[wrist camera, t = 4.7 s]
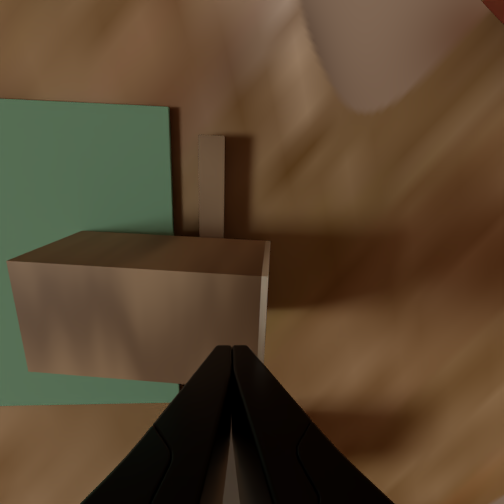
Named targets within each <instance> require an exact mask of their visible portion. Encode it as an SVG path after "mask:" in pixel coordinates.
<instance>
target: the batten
mask: <svg viewBox="0 0 504 504" xmlns="http://www.w3.org/2000/svg"><path fill="white" fill-rule="evenodd" d="M198 162H199V237H206V238H224V185H225V136H216V135H198Z"/></svg>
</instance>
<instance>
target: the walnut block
mask: <svg viewBox="0 0 504 504" xmlns="http://www.w3.org/2000/svg"><path fill="white" fill-rule="evenodd" d="M270 243H271V241H261V240H243V239H225V238H206V237H188V236H170V235H151V234H133V233H114V232H96V231H80V232H77V233H75V234H72V235H70V236H67V237H65V238H62V239H60V240H57V241H55V242H52V243H50V244H47V245H45V246H42V247H40V248H37V249H35V250H32V251H30V252H27V253H25V254H22V255H20V256H17V257H15V258H12V259H10V260H7V261H6V263H7V268H8V273H9V277H10V282H11V287H12V292H13V297H14V302H15V307H16V312H17V317H18V322H19V327H20V332H21V337H22V342H23V347H24V352H25V357H26V362H27V367H28V372H40V373H52V374H65V375H77V376H89V377H102V378H114V379H126V380H138V381H151V382H163V383H175V384H186V383H187V382H188V380H189V379H190V378H191V377H192V375H193V374H194V373H195V372H196V370H197V369H198V368H199V367H200V365H201V364H202V363H203V362H204V360H205V359H206V358H207V357H208V355H209V354H210V353H211V352H212V350H213V349H214V348H215V347H216V346H217V345H230V346H231V347H233V346H234V345H247V346H248V347H249V348H250V349H251V350H252V351H253V353H254V354H255V355H256V356H257V357H258V358H259V360H260V361H261V362H262V363H263V364H264V348H265V331H266V314H267V296H268V278H269V260H270Z"/></svg>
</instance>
